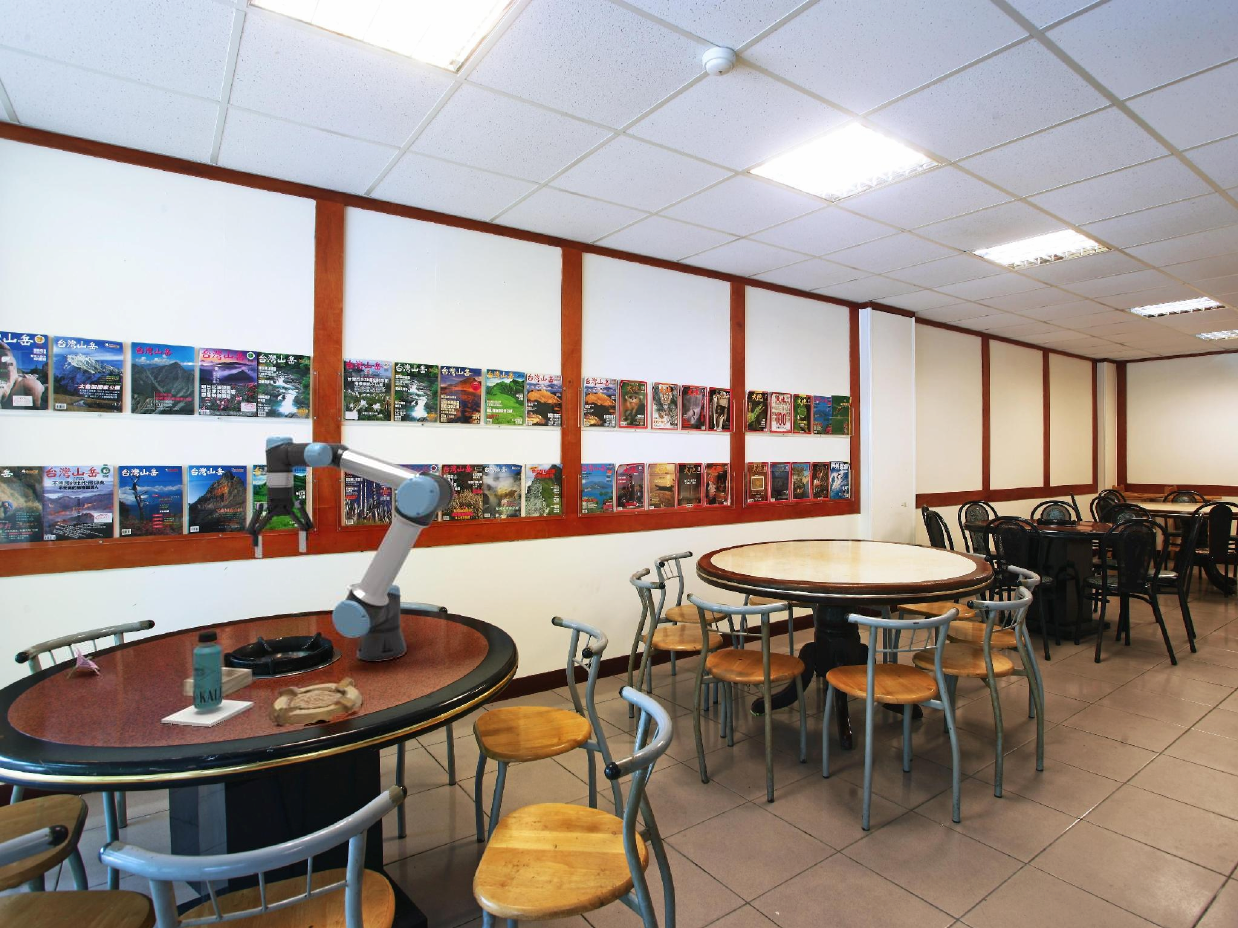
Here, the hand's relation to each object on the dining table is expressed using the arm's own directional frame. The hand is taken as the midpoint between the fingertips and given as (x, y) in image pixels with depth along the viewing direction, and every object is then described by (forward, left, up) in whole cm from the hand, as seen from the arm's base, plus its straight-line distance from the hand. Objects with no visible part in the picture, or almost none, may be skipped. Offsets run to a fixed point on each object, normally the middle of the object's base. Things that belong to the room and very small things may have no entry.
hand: (281, 554), depth 205 cm
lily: (+52, +20, -35) cm, 66 cm away
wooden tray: (+3, +22, -35) cm, 41 cm away
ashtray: (-33, +29, -35) cm, 56 cm away
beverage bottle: (-9, +38, -34) cm, 52 cm away
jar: (+5, -50, -35) cm, 61 cm away
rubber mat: (-9, +38, -35) cm, 52 cm away
